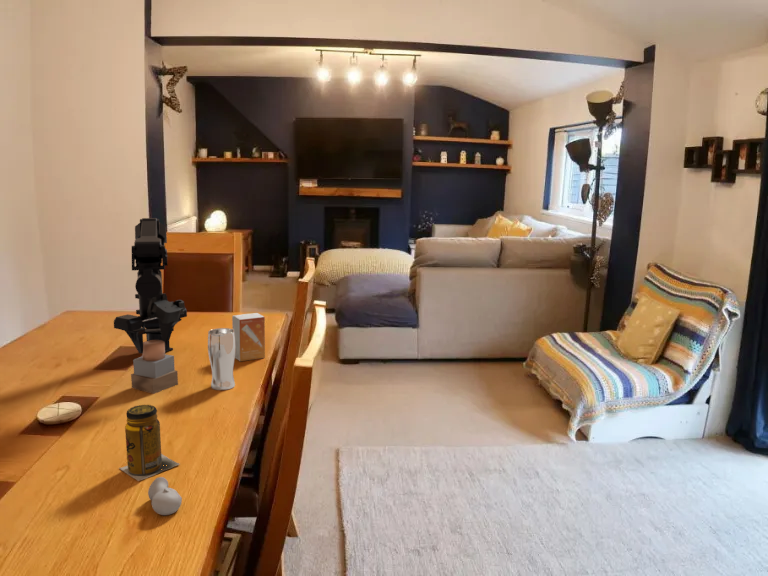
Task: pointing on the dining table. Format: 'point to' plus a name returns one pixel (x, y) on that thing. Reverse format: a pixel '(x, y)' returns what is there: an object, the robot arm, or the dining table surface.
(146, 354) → the brown rounded cylinder
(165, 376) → the walnut base block
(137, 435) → the condiment
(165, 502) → the pale two-lobed sculpture
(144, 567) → the dining table surface
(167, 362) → the grey top block
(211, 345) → the beer glass
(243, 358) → the small box
